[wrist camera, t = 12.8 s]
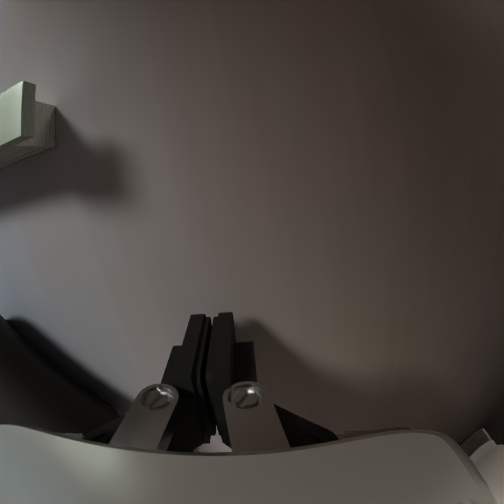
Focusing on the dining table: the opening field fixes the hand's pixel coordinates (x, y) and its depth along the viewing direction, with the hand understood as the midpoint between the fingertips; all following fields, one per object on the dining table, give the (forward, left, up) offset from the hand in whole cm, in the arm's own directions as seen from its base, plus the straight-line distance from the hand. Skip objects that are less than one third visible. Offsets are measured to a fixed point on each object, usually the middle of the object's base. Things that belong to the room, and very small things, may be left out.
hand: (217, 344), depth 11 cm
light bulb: (+20, +23, -1) cm, 31 cm away
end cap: (+3, -11, -2) cm, 12 cm away
